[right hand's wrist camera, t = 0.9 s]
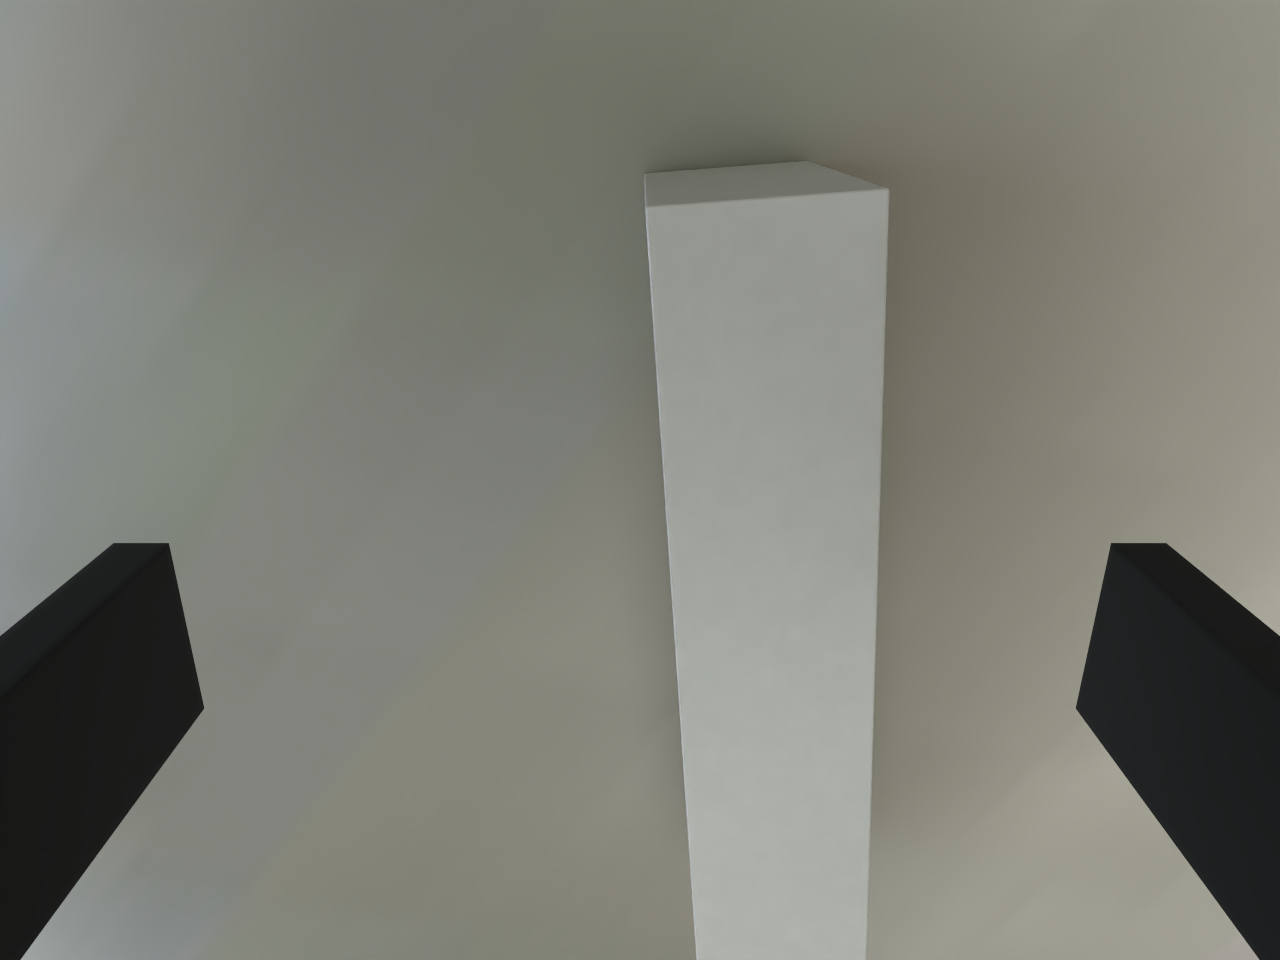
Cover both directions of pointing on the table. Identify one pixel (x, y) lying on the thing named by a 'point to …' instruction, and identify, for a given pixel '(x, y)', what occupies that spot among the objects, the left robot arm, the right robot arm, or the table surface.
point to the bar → (773, 540)
